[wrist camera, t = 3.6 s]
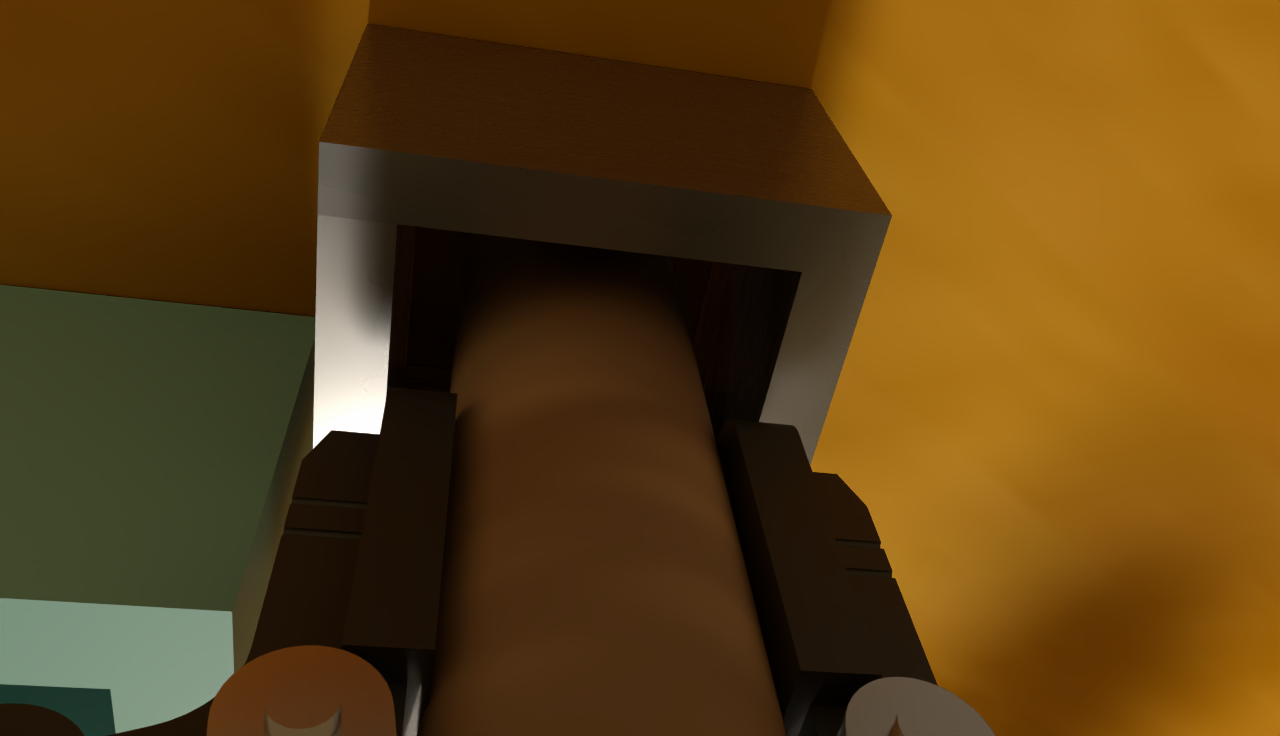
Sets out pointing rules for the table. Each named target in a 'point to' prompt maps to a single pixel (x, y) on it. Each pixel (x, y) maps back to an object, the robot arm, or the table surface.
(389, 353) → the mount
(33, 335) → the socket
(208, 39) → the table surface
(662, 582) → the pin
